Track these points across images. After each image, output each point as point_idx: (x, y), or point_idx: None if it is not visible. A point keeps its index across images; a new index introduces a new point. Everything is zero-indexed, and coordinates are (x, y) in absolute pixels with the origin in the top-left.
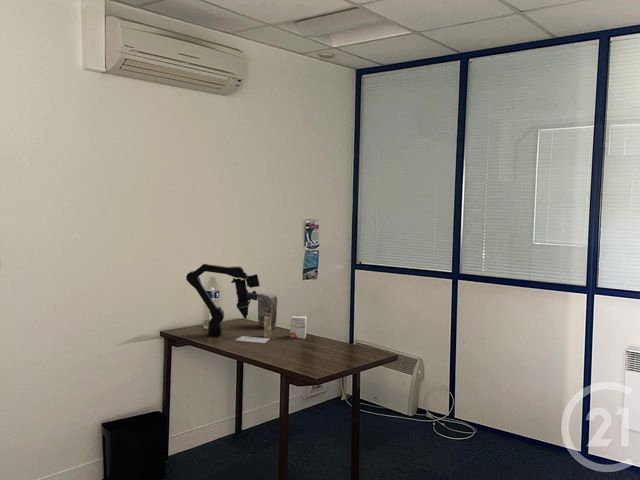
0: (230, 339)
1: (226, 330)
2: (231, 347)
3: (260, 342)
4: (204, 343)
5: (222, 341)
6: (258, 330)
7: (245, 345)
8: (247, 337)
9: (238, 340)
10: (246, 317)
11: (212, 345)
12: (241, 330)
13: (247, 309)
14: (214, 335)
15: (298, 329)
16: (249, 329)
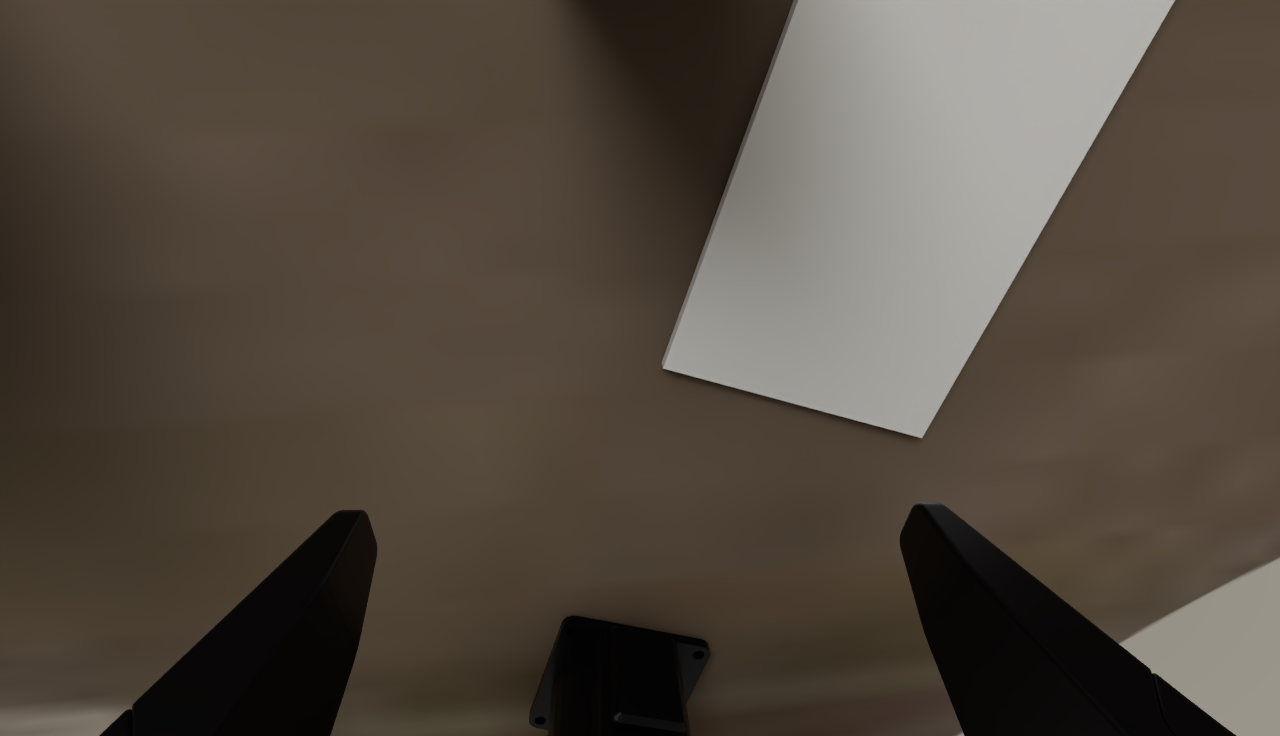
0: (821, 496)
1: None
2: (1266, 445)
3: (1160, 17)
4: None
5: None
6: (16, 79)
7: (1222, 276)
8: (766, 276)
9: (941, 396)
10: (967, 524)
11: None
12: (166, 402)
13: (249, 708)
14: (683, 684)
15: None
16: (11, 273)
